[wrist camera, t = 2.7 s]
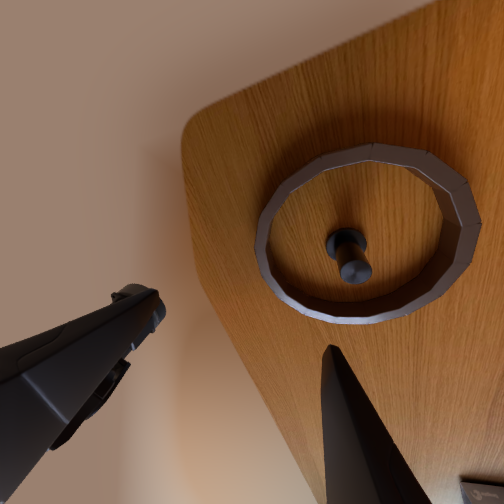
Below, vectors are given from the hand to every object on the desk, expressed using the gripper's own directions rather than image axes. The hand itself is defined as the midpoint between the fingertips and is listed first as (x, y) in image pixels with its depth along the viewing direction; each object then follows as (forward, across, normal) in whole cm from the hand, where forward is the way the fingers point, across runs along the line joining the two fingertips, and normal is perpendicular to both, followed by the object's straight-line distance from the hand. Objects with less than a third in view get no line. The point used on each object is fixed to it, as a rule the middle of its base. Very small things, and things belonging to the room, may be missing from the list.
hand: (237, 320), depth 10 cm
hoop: (+10, -7, -1) cm, 12 cm away
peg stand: (+10, -7, -1) cm, 12 cm away
